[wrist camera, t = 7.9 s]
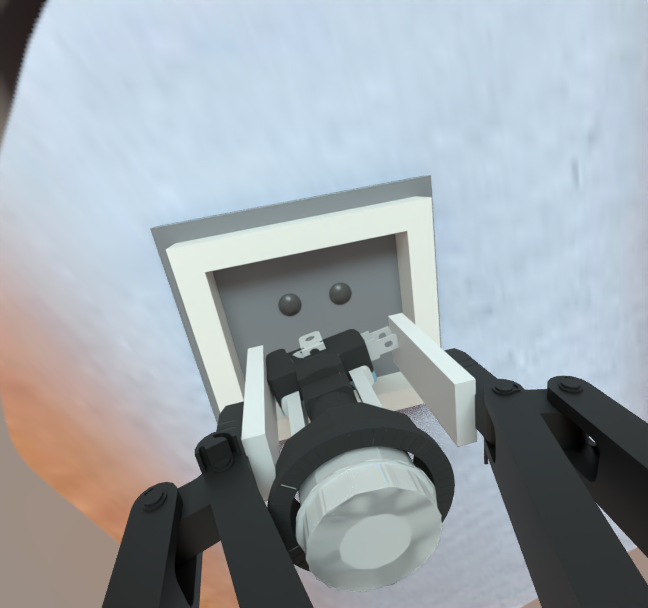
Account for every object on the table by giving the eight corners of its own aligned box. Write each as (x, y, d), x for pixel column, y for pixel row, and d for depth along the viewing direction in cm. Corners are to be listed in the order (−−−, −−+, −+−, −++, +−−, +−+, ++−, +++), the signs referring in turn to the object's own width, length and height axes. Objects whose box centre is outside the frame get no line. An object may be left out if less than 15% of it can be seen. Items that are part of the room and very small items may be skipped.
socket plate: (423, 175, 21) (448, 174, 18) (437, 383, 26) (458, 407, 23) (155, 226, 19) (137, 233, 17) (226, 437, 25) (222, 469, 22)
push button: (374, 283, 17) (507, 400, 8) (399, 370, 19) (531, 547, 10) (248, 332, 17) (231, 512, 8) (286, 415, 19) (311, 640, 10)
